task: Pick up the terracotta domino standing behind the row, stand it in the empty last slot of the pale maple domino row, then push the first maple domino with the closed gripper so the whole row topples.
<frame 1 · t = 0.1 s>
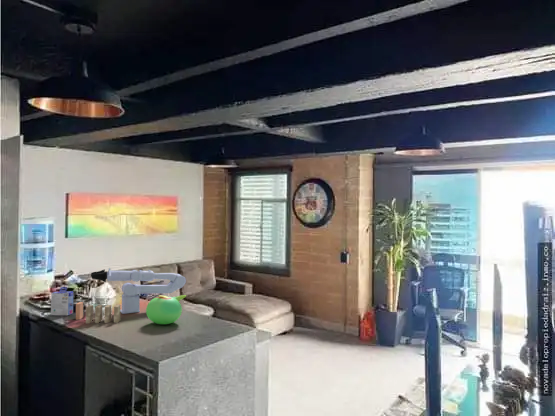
hand: (91, 275, 225), 22 cm above the countertop, tool horizontal, fingers open, 7 cm apart
green teapot: (164, 323, 210), on the countertop
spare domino: (79, 318, 219), on the countertop
domino 3: (98, 321, 213), on the countertop
domino 2: (107, 321, 213), on the countertop
domino 1: (117, 321, 214), on the countertop
ink cartridge box: (62, 314, 227), on the countertop
domino 4: (89, 322, 212), on the countertop
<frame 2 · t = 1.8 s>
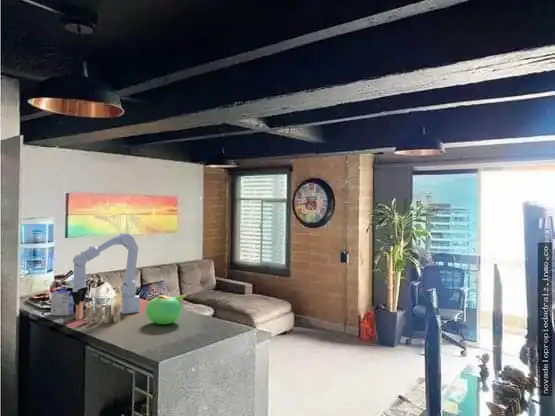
hand: (79, 303, 219), 8 cm above the countertop, tool pointing down, fingers open, 7 cm apart
nothing on the countertop moved.
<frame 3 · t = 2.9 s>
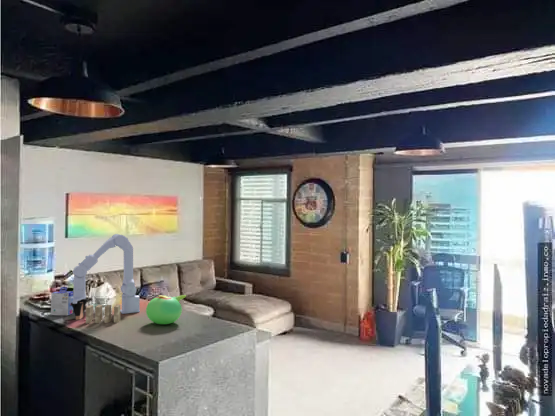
hand: (79, 314, 219), 2 cm above the countertop, tool pointing down, fingers closed on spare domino, 5 cm apart
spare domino: (79, 318, 219), on the countertop, touching gripper
everything else where it was.
when the fingers open (3 cm above the countertop, at t = 7.2 s): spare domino stays where it is, on the countertop.
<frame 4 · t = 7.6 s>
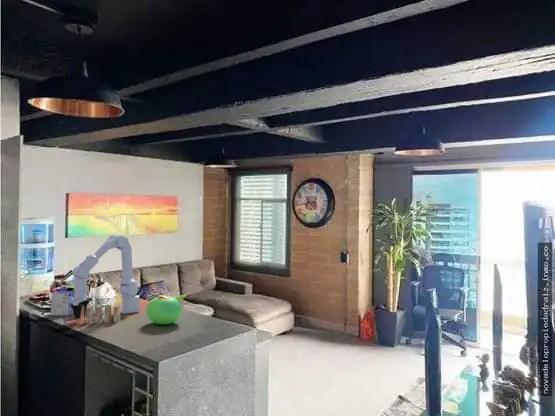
hand: (80, 316, 211), 3 cm above the countertop, tool pointing down, fingers open, 7 cm apart
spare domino: (80, 322, 211), on the countertop
everything else where it was.
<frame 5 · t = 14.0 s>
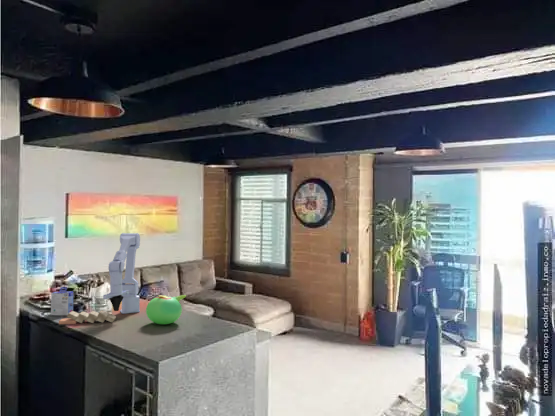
hand: (116, 310, 214), 5 cm above the countertop, tool pointing down, fingers closed
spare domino: (77, 321, 211), point 1 cm above the countertop, tilted 90°, touching domino 4
domino 3: (95, 320, 212), point 1 cm above the countertop, tilted 66°, touching domino 4
domino 2: (105, 319, 213), point 1 cm above the countertop, tilted 65°, touching domino 1
domino 1: (114, 319, 214), point 1 cm above the countertop, tilted 64°, touching domino 2
domino 4: (84, 320, 212), point 1 cm above the countertop, tilted 66°, touching domino 3, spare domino
everything else where it was.
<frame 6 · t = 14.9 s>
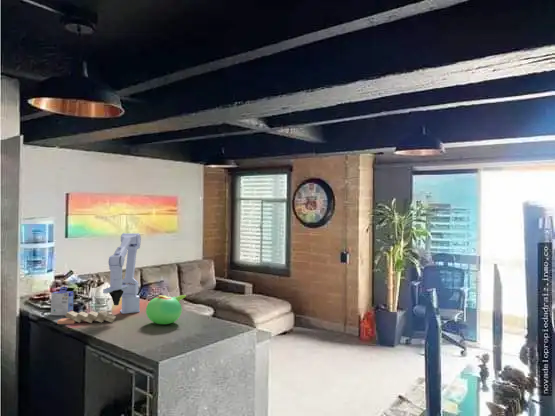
hand: (116, 304, 214), 8 cm above the countertop, tool pointing down, fingers closed
domino 3: (93, 320, 212), point 1 cm above the countertop, tilted 67°, touching domino 2, domino 4
domino 2: (104, 319, 213), point 1 cm above the countertop, tilted 67°, touching domino 1, domino 3
domino 1: (113, 319, 213), point 1 cm above the countertop, tilted 65°, touching domino 2
domino 4: (82, 319, 212), point 1 cm above the countertop, tilted 67°, touching domino 3, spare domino
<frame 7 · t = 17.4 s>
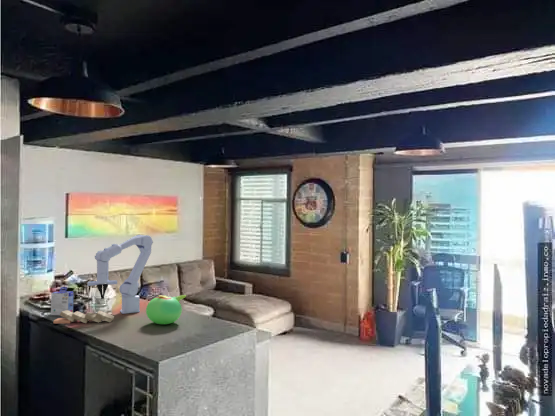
hand: (102, 298, 222), 10 cm above the countertop, tool pointing down, fingers closed
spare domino: (72, 321, 212), on the countertop, tilted 90°, touching domino 4
domino 3: (88, 320, 212), point 1 cm above the countertop, tilted 66°, touching domino 2, domino 4
domino 2: (102, 319, 213), point 1 cm above the countertop, tilted 70°, touching domino 1, domino 3
domino 4: (76, 319, 212), point 1 cm above the countertop, tilted 69°, touching domino 3, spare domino
at the end: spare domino tilted 90°; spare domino inside the target area (4.3 cm from its centre), on the countertop; domino 1 tilted 67° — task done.
